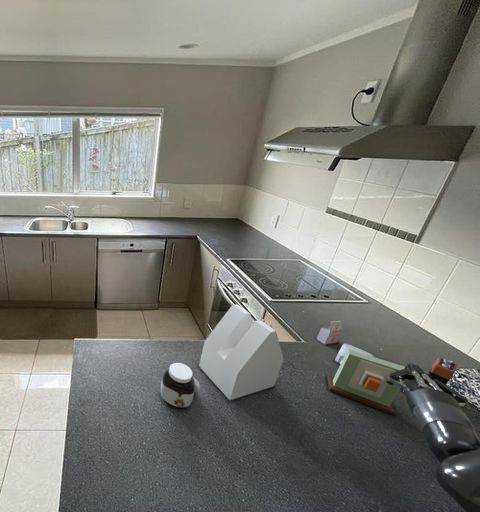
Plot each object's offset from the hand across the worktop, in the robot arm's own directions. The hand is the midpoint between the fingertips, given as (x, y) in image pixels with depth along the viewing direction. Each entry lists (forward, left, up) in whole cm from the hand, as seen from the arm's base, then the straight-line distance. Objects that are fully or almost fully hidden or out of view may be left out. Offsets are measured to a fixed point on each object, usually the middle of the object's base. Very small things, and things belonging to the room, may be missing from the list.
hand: (411, 366), depth 70 cm
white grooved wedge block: (+36, -2, -26) cm, 45 cm away
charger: (0, -33, -26) cm, 42 cm away
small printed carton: (+6, -47, -26) cm, 54 cm away
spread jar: (+50, +18, -26) cm, 59 cm away
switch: (0, -13, -19) cm, 23 cm away
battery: (-24, -40, -26) cm, 54 cm away
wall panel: (0, -17, -26) cm, 31 cm away
